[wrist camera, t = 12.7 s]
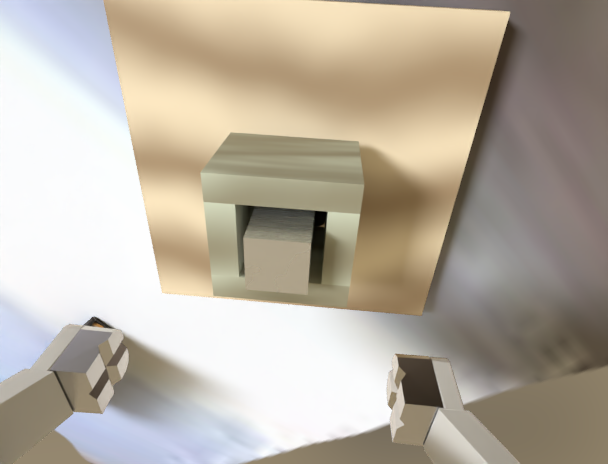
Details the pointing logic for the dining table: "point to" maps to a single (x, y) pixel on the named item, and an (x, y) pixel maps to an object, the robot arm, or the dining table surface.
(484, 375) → the dining table surface
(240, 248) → the collar
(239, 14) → the shaft board
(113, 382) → the robot arm
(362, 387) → the dining table surface
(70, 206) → the dining table surface
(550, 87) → the dining table surface
